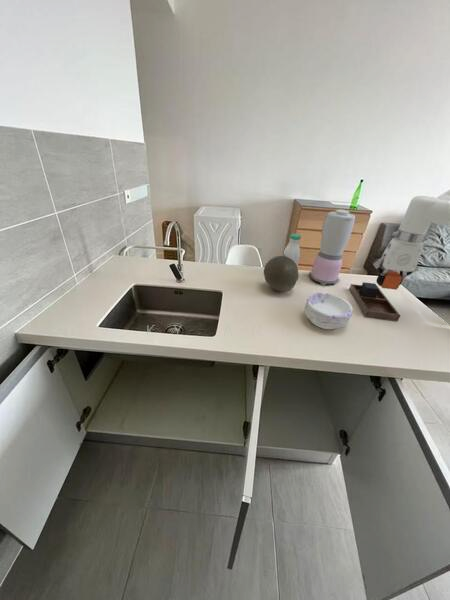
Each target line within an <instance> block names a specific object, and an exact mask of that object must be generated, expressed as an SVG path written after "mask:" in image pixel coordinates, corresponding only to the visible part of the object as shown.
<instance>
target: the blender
mask: <svg viewBox="0 0 450 600" xmlns="http://www.w3.org/2000/svg"><path fill="white" fill-rule="evenodd" d="M355 220H356V215H355V214H353V213H350V211H349V210H346V209H336V210H335V211H329V212H328V213H327V215H326V216H325V217H324V220H323V224H322V228H321V233H320V234H321V238H320V248H319V252H318V253H317V254H316V255H315V257H314V259H313V264H312V266H311V267H312V268H311V272H310V276H309V277H310V278H311V279H312V280H314V281H315V282H318V283H320V286H324V287H325V286H327V285H334V286H335V285H336V284H337V283H338V279H339V275H340V272H341V269H342V266H343V258H342V257H343V253H344V251H345V249H346V247H347V245H348V243H349V241H350V238H351V236H352V235H351V234H352V232H353V229H354V224H355Z"/></svg>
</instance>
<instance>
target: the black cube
mask: <svg viewBox="0 0 450 600" xmlns="http://www.w3.org/2000/svg"><path fill="white" fill-rule="evenodd" d="M361 285H362V286H361V289H360V291H359V293H360V294H361V296H363V297H371V298H376V296H377V294H378V291H379V289H380V287H379V286H378V284H377V283H374V282H373V283H372V282H365V281H363V282H362V284H361Z"/></svg>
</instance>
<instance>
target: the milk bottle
mask: <svg viewBox="0 0 450 600" xmlns="http://www.w3.org/2000/svg"><path fill="white" fill-rule="evenodd" d="M301 237H302V236H301V235H300V234H298V233H291V234H290V236H289V242H288V243H287V245H286V246H285V249H284V250H283V255H282V256H285V257H288V258H290V259H292V260H293V261H294V262H295V263H296V265H297V268H298V267H299V263H300V258H301V247H300V241H301Z"/></svg>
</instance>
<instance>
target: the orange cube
mask: <svg viewBox="0 0 450 600" xmlns="http://www.w3.org/2000/svg"><path fill="white" fill-rule="evenodd" d="M402 278H403V277H402V276H401V275H400V274H399V271H396V270H388V272H387V273H386V274H385V279H384V281H383V284H382V286H380V287H381V288H382V289H386V290H387V289H388V290H394V291H395V290H396V291H397V290H398V288H399V287H400V285H401V284H400V282H401V280H402ZM403 279H404V278H403ZM402 281H403V280H402ZM401 283H402V282H401ZM399 284H400V285H399ZM398 286H399V287H398Z"/></svg>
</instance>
